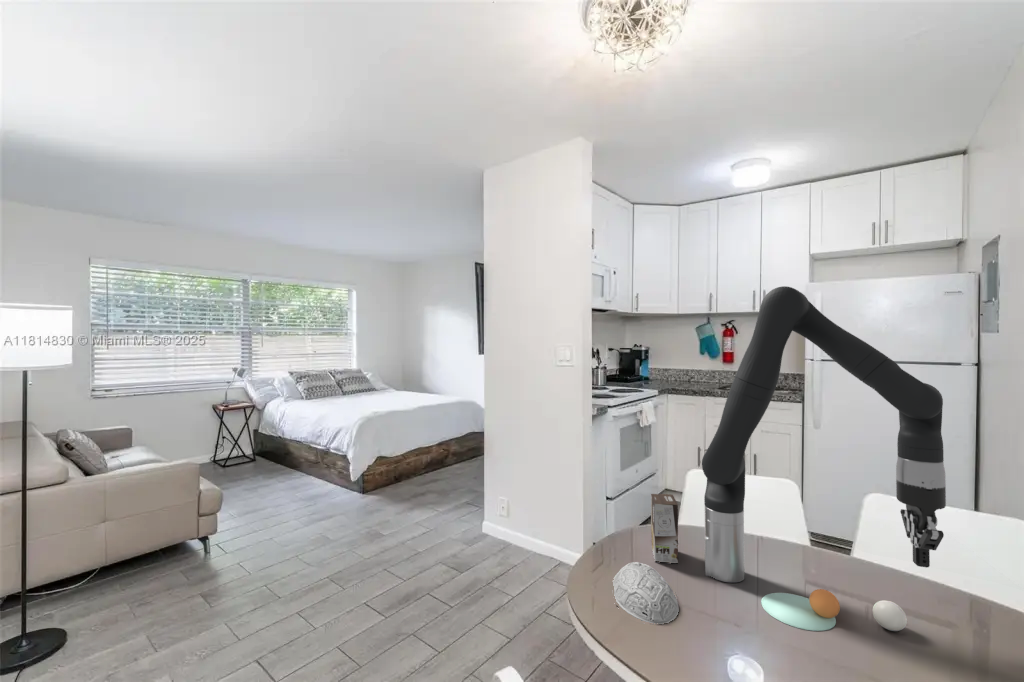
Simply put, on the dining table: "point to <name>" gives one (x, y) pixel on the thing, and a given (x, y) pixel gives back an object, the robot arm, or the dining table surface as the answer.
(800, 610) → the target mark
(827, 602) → the orange ball
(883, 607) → the cue ball
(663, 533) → the coffee box
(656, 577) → the grey oval dome
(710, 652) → the dining table surface
